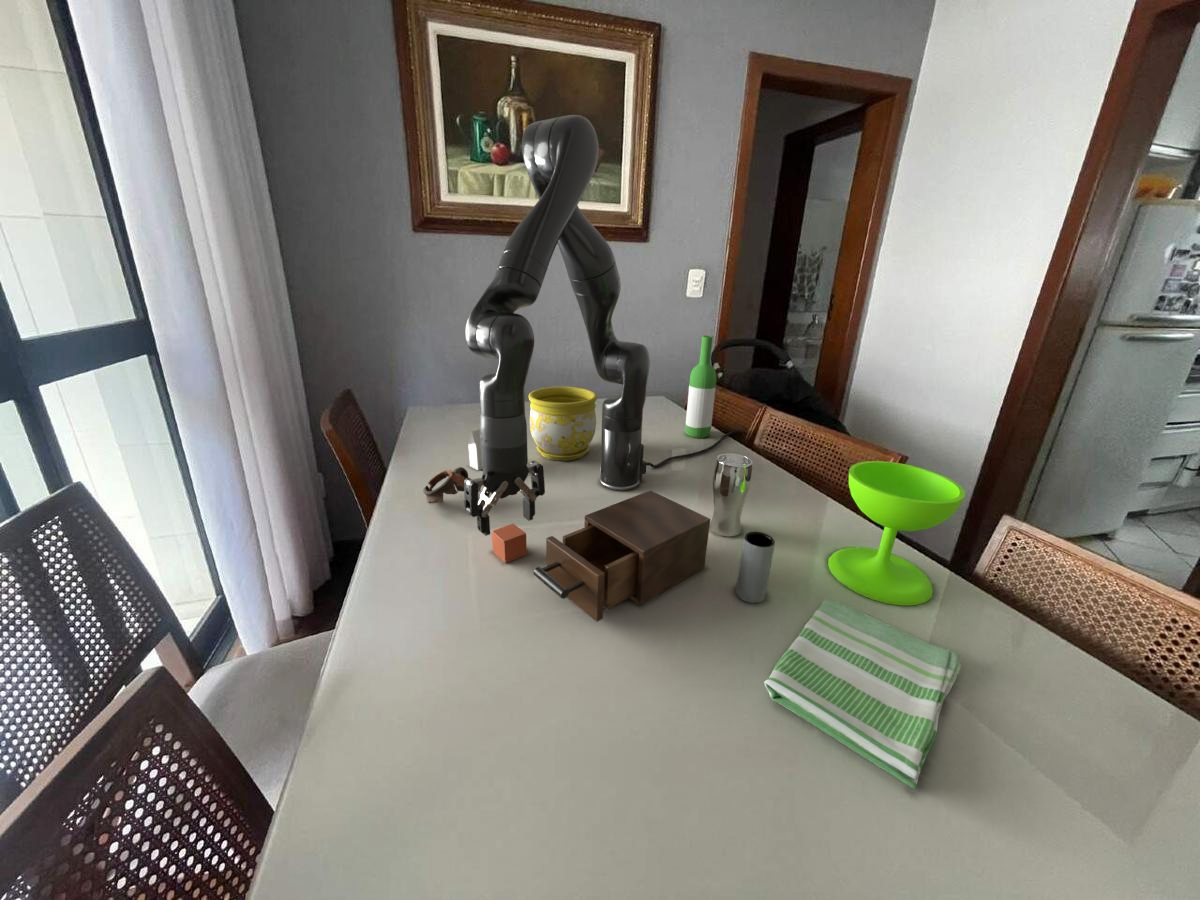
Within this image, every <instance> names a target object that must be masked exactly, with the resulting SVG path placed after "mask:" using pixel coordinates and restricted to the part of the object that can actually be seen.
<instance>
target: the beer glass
mask: <svg viewBox="0 0 1200 900" xmlns="http://www.w3.org/2000/svg"><path fill="white" fill-rule="evenodd" d="M753 463H754V462H753V460H752V458H750V457H748V456H745V455H743V454H739V453H729V452H728V453H722V454H719V455H717V456H716V462H715V466H714V471H713V476H712V496H713V513H712V517H711V519H710V526H709V530H711V532H712V533H714V534H716V535H718V536H721V537H726V538H727V537H728V538H730V537H737V536H738V535H740V534H741V532H742V523H741V521H742V514H743V509H744V507H745V504H746V502H747V498H748V496H749V492H750V488H751V483H752V474H753Z"/></svg>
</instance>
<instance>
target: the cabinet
mask: <svg viewBox="0 0 1200 900" xmlns="http://www.w3.org/2000/svg"><path fill="white" fill-rule="evenodd" d="M710 523H711V518H710V517H707V516H706V515H703V514H701V513H700V512H697V511H695V510H693V509H691V508H689V507H687V506H684V505H682V504H680V503H678V502H676V501H674V500H672V499H670V498H668V497H666V496H664V495H661V494H659V493H657V492H656V491H653V490H651V489H650V490H648V491H645V492H642V493H639V494H637V495H634V496H632V497H629V498H627V499H624V500H622V501H619V502H616V503H614V504H610V505H608V506H606V507H603V508H600V509H598V510H595V511H593V512H590V513H588V514H585V515H584V527H587V526H589V525H594V526H595V527H597V528H598V529H600V530H602V531H603V532H605V533H606V534H608V535H610V536H611V537H613V538H614V539H616V540H618V541H619V542H621V543H622V544H624V545H626V546H627V547H629V548H630V549H632V550H634V551H635V552H637V553H638V554H639V567H638V582H637V593H636V594H634V595H632V596H630V597H629V598H628V599H630V600H631V601H632V602H634V603H635V604H637V606H639V607H641V606H643V605H645V604H646V603H649V602H650V601H651V600H653V599H655V598H657V597H658V596H660V595H662V594H663V593H665V592H667V591H669V590H670V589H672V588H674V587H675V586H677V585H679V584H681V583H682V582H684V581H685V580H687V579H689V578H691V577H693V576H694V575H696V574H698V573H700V572H701V571H703V570H705V569H706V568H705V566H706V558H707V551H708V542H709V535H710Z"/></svg>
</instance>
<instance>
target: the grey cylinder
mask: <svg viewBox="0 0 1200 900" xmlns="http://www.w3.org/2000/svg"><path fill="white" fill-rule="evenodd" d="M775 545H776V541H775V538H774V537H773V536H771V535H769V534H768V533H765V532H761V531H748V532H746V533H745V534H744V536H743V542H742V548H741V555H740V562H739V568H738V574H737V581H736V587H735V588H736V589H735V593H736V596H738V598H739V599H741V600H742V601H743V602H747V603H750V604H759V603H762V602H763V601H765V598H766V594H767V591H768V583H769V577H770V574H771V573H770V572H771V567H772V563H773V556H774V552H775V551H774V550H775Z"/></svg>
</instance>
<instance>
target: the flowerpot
mask: <svg viewBox="0 0 1200 900" xmlns="http://www.w3.org/2000/svg"><path fill="white" fill-rule="evenodd" d="M528 400H529V402H530V404H529V407H530V412H529V429H530V431H529V432H530V435H531V437H532V439H533V441H534V442H535V444H536V445H537V446H536V450H537V452H538V453H539V454H540V455H541V456H542V457H544V458H545V459H548V460H552V461H559V462H560V461H563V462H564V461H574V460H577V459H580V458H582V457H584V456H585V455H586V453H588V452H589V451H590V446H589V445H590V444H591V442H592V441H593V439H594V437H595V433H596V430H597V429H596V428H597V415H596V407H597V405H596V401H597V400H598V394H597V393H596V392H594V391H592V390H590V389H587V388H583V387H575V386H547V387H542V388H537V389H534V390H532V391H531V392H529V394H528Z"/></svg>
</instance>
